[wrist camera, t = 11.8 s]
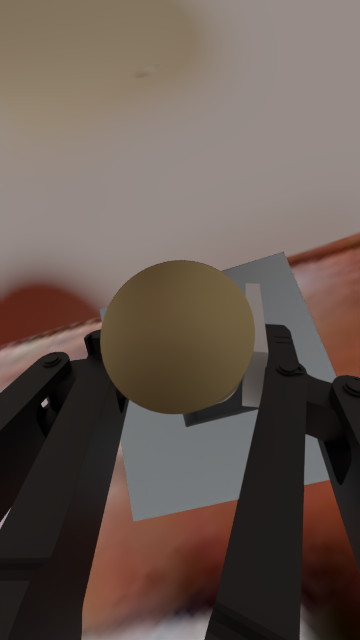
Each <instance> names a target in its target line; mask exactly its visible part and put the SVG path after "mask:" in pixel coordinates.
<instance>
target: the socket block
mask: <svg viewBox="0 0 360 640" xmlns="http://www.w3.org/2000/svg"><path fill="white" fill-rule="evenodd" d="M221 272H222V273H224V274H225V275H227V276H228V277H229V278H230V279H231V280H232V281H233V282H235V283H236V285H237V286H238V287H239V288H240V289H241V291H242V292H243V294H244V296H245V287H246V283H254V284H260V290H261V298H262V306H263V314H264V321H265V324H277V325H285V326H286V327H287V328H288V329H289V330H290V332H291V335H292V339H293V344H294V346H295V350H296V354H297V357H298V361H299V363H300V364H302V365H303V366H304V367H305V368H306V371H307V374H309V375H311V376H312V377H315V378H317V379H320V380H323V381H327V382H330V383H332V382H333V380H334V379H335V378H336V374H335V372H334V370H333V367H332V365H331V363H330V360H329V358H328V355H327V353H326V351H325V348H324V346H323V344H322V341H321V339H320V337H319V334H318V332H317V330H316V327H315V325H314V322H313V320H312V318H311V315H310V313H309V311H308V308H307V306H306V304H305V301H304V299H303V296H302V294H301V292H300V289H299V287H298V285H297V282H296V280H295V278H294V275H293V273H292V271H291V268H290V266H289V263H288V261H287V259H286V256H285V254H284V252H281V253H278V254H275V255H272V256H268V257H265V258H262V259H259V260H255V261H252V262H249V263H246V264H243V265H239V266H236V267H233V268H230V269H227V270H223V271H221ZM107 308H108V306H107V307H104V308H100V311H101V319H102V323H103V319H104V316H105V313H106V311H107ZM258 409H259V407H250V406H242V380H241V382H240V384H239V386H238V388H237V390H236V391H235V393H234V394H233V395H232V396H231V397H230V398H229V399H227V400H226V401H224V402H221V403H218V404H216V405H213V406H210V407H207V408H204V409H201V410H198V411H195V412H191V413H186V414H162V413H157V412H153V411H150V410H147V409H145V408H142V407H140V406H138V405H137V404H135V403H133V402H132V401H130V400H129V404H128V408H127V413H126V417H125V421H124V426H123V430H122V435H121V446H122V452H123V459H124V465H125V471H126V478H127V484H128V490H129V497H130V503H131V509H132V516H133V522H134V521H139V520H144V519H148V518H153V517H158V516H162V515H167V514H172V513H176V512H181V511H186V510H190V509H195V508H200V507H204V506H209V505H213V504H218V503H223V502H227V501H232V500H237V499H239V494H240V490H241V485H242V481H243V476H244V472H245V468H246V463H247V459H248V454H249V450H250V445H251V441H252V436H253V432H254V427H255V423H256V418H257V414H258ZM325 480H330V479H329V475H328V472H327V469H326V466H325V463H324V459H323V456H322V453H321V450H320V447H319V444H318V440H317V438H314V437H312V436H309V435H307V434H306V435H305V468H304V485H307V484H311V483H316V482H321V481H325Z"/></svg>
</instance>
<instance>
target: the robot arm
mask: <svg viewBox="0 0 360 640" xmlns="http://www.w3.org/2000/svg"><path fill="white" fill-rule="evenodd" d="M245 297H246V299H247V301H248V303H249V305H250V308H251V311H252V314H253V318H254V325H255V343H254V350H253V354H252V357H251V360H250V363H249V365H248V367H247V369H246V372H245V374H244V376H243V378H242V406H250V407H259V409H258V414H257V418H256V423H255V427H254V432H253V436H252V441H251V445H250V450H249V454H248V459H247V463H246V468H245V472H244V476H243V481H242V485H241V490H240V494H239V499H238V503H237V508H236V512H235V517H234V521H233V526H232V530H231V535H230V539H229V544H228V548H227V553H226V557H225V562H224V566H223V571H222V575H221V580H220V584H219V589H218V593H217V597H216V602H215V605H214V609H213V611H212V614H211V617H210V620H209V624H208V628H207V631H206V636H205V640H300V604H301V570H302V536H303V502H304V468H305V435H306V434H307V435H309V436H312V437H314V438H317V440H318V444H319V447H320V450H321V453H322V456H323V459H324V463H325V466H326V469H327V472H328V475H329V479H330V482H331V485H332V488H333V491H334V494H335V498H336V501H337V504H338V507H339V510H340V514H341V517H342V520H343V523H344V526H345V529H346V533H347V536H348V539H349V542H350V545H351V548H352V552H353V555H354V558H355V561H356V564H357V568H358V571H359V574H360V378H358V377H355V376H349V375H345V376H339V377H336V378H335V379H334V380H333V382H332V383H330V382H327V381H323V380H320V379H317V378H315V377H312V376H311V375H309V374H307V371H306V368H305V367H304V366H303V365H302V364H300V363H299V361H298V357H297V354H296V350H295V346H294V344H293V339H292V335H291V332H290V330H289V329H288V328H287V327H286V326H285V325H277V324H265V321H264V314H263V306H262V298H261V290H260V284H254V283H246V287H245ZM100 337H101V330H96V331H93V332H91V333H89V334H88V335H86V336H85V338H84V341H85V344H86V348H87V352H88V357H87V359H81V360H73V361H70V359H69V356H68V355H67V354H66V353H64V352H53V353H49V354H47V355H45V356H43V357H41V358H40V359H38V360H37V361H36V362H35V363H34V364H33V365H31V366H30V367H29V368H28V369H27V370H26V371H25V372H24V373H22V374H21V375H20V376H19V377H18V378H17V379H16V380H14V381H13V382H12V383H11V384H10V385H9V386H8V387H7V388H5V389H4V390H3V391H2V392H1V393H0V522H1V521H2V519H3V518H4V516H5V515H6V514H7V512H8V511H9V509H10V508H11V509H10V511H9V513H8V515H7V517H6V519H5V521H4V523H3V525H2V527H1V529H0V640H81V635H82V608H83V602H84V597H85V593H86V588H87V584H88V579H89V575H90V571H91V566H92V562H93V558H94V553H95V549H96V544H97V540H98V536H99V531H100V527H101V522H102V518H103V514H104V509H105V505H106V500H107V496H108V492H109V487H110V483H111V478H112V474H113V470H114V465H115V461H116V456H117V452H118V448H119V443H120V439H121V435H122V430H123V426H124V421H125V417H126V413H127V408H128V404H129V399H128V398H127V397H125V396H124V395H123V394H122V393H121V392H120V391H119V390H118V389H117V387H116V386H115V385H114V383H113V382H112V380H111V379H110V377H109V375H108V373H107V371H106V368H105V366H104V363H103V359H102V354H101V345H100ZM46 398H47V401H48V404H47V405H46V406H45V407H42V405H41V403H42V402H43V401H44V400H45V399H46Z"/></svg>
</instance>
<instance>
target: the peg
mask: <svg viewBox="0 0 360 640" xmlns="http://www.w3.org/2000/svg"><path fill="white" fill-rule="evenodd" d="M254 343H255V325H254V318H253V314H252V311H251V308H250V305H249V303H248V301H247V299H246V297H245V296H244V294H243V292H242V291H241V289H240V288H239V287H238V286H237V285H236V283H235V282H233V281H232V280H231V279H230V278H229V277H228V276H227V275H225V274H224V273H222V272H221V271H219V270H217V269H215V268H213V267H211V266H209V265H206V264H203V263H199V262H195V261H185V260H179V261H177V260H176V261H168V262H163V263H160V264H156V265H154V266H151V267H148V268H146V269H145V270H143V271H141V272H139V273H138V274H136V275H135V276H133V277H132V278H131V279H130V280H128V281H127V282H126V283H125V284H124V285H123V286H122V287H121V288H120V289H119V291H118V292H117V293H116V295H115V296H114V297H113V299H112V301H111V303H110V304H109V306H108V308H107V311H106V313H105V316H104V319H103V323H102V328H101V337H100V345H101V354H102V359H103V363H104V366H105V368H106V371H107V373H108V375H109V377H110V379H111V380H112V382H113V383H114V385H115V386H116V387H117V389H118V390H119V391H120V392H121V393H122V394H123V395H124V396H125V397H127V398H128V399H129V400H130V401H132V402H133V403H135V404H137V405H138V406H140V407H142V408H145V409H147V410H150V411H153V412H157V413H162V414H186V413H191V412H195V411H198V410H201V409H204V408H207V407H210V406H213V405H216V404H218V403H221V402H224V401H226V400H227V399H229V398H230V397H231V396H232V395H233V394H234V393H235V391H236V390H237V388H238V386H239V384H240V382H241V380H242V378H243V376H244V374H245V372H246V369H247V367H248V365H249V363H250V360H251V357H252V354H253V350H254Z"/></svg>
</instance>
